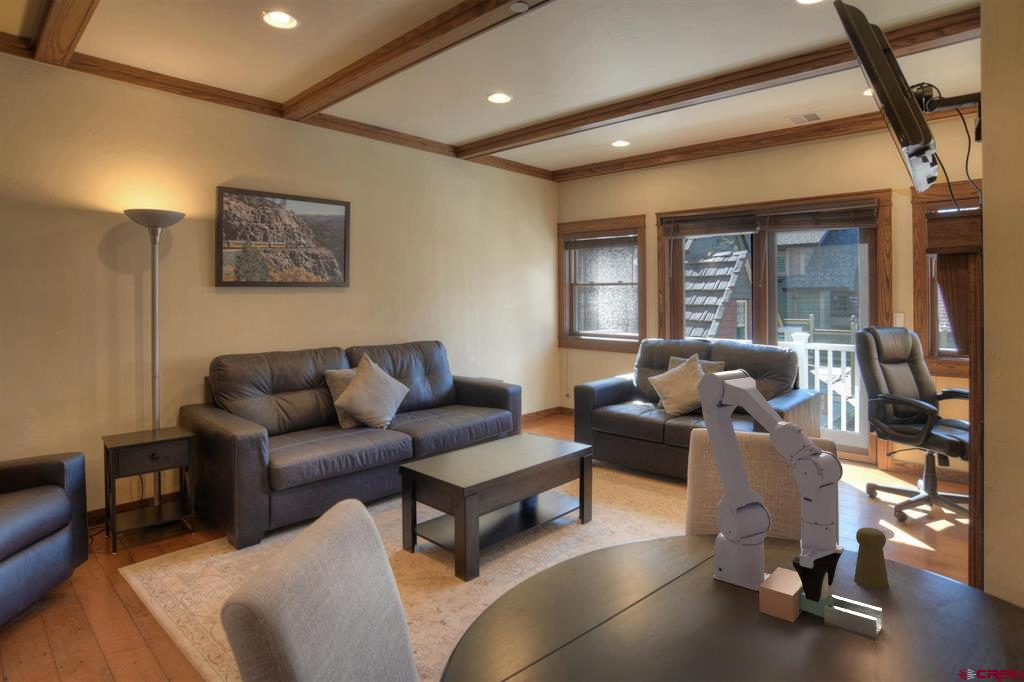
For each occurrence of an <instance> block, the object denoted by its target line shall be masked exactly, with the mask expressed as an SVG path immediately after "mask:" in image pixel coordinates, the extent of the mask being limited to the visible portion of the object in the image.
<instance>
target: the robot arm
mask: <svg viewBox="0 0 1024 682" xmlns="http://www.w3.org/2000/svg"><path fill="white" fill-rule="evenodd" d="M696 388H697V393H698V396H699V400H700V403H701V407H702V408H701V410H702V411H701V412H702V418H703V421H704V424H705V427H706V431H707V435H708V438H709V442H710V447H711V450H712V454H713V457H714V461H715V464H716V468H717V471H718V475H719V476H718V477H719V479H720V483H721V486H722V490H723V495H722V497H721V498H720V499H719V501H718V503H717V505H716V508H717V512H718V518H717V523H718V528H719V530H720V532H719V533H718V534H717V536H716V538H715V540H714V550H713V551H714V552H713V553H714V558H713V559H714V574H713V578H714V579H715V580H718V581H722V582H726V583H729V584H732V585H734V586H738V587H742V588H746V589H747V590H748V589H749V590H752V591H755V592H759V586H760V585H761V584H762V583H763V582H764V581H765V580H766V579H767V578H768V577H769V576H770V575H771V573H766V572H765V540H764V539H765V538H766V539H767V532H769V531H770V530H771V528H772V523H773V519H772V515H771V512H770V511H769V509H768V508H767V507H766V504H765V503H764V499H763V497H762V495H760V494H759V493H757V492H756V491H754V490H753V489H752V488H751V485H750V481H749V478H748V475H747V470H746V467H745V464H744V463H745V462H744V461H743V455H742V452H741V450H740V446H739V445H740V444H739V442H738V439H737V435H736V431H735V429H734V428H735V427H734V425H733V421H732V417H731V416H732V414H733V412H734V410H735V409H736V408H737V407H741V408H743V409H744V410H745V411H746V412H747V413H748V414H749V415H750V416H751V417H753V419H754V420H756V422H757V423H759V424H760V425H761V426H762V427H763V428H764V429H765V430H766V431H767V432H769V442H770V444H771V445H772V446H773V447H774V449H776V450H777V451H778V453H779V454H780V455H781V456H782V457H783V459H784V460H786V461H787V463H788V464H789V465H791V467H792V469H791V471H792V476H793V478H794V480H795V482H796V483H797V486H798V493H799V495H800V536H801V537H800V538H801V539H799V546H800V553H799V557H797V556H795V557H794V558H793V560H792V566H793V568H794V570H795V572H797V573H798V575H799V577H800V579H801V582H802V586H803V590H804V593H805V597H806V599H808V600H812V601H815V602H819V600H820V597H821V592H822V584H823V580H824V577H825V574H826V572H827V573H828V587H829V586H830V587H831V586H832V585H833V582H834V579H835V575H836V570H837V566H838V562H839V561H840V558H841V556H842V554H843V553H844V551H845V548H844V546H843V545H840V544H838V543H837V503H836V502H837V496H836V495H837V491H836V490H837V489H836V488H837V487H836V483H837V482H840V480H841V479H842V477H843V474H844V472H843V470H844V469H843V465H842V463H841V460H840V459H839V458H838V457H837V455H836V454H834V453H833V452H831V451H827V450H823V449H822V448H821V447H819V446H818V445H816V444H815V443H814V442H813V441H812V440H811V439H810V438H809V437H808V436H807V435H806V434H805V433H804V432H803V428H802V427H801V426H800V425H799V424H795V422H790V421H789V422H788V421H784V420H783V418H782V417H781V416H780V415H779V413H778V412H777V411H776V410H775V408H773V406H772V405H771V404H770V403H769V402H768V401H767V399H766V398H765V397H764V395H763V394H762V393H761V392H760V391H759V390H758V389H757V381H756V379H754V378H753V377H751V375H750V374H749V373H748V371H746V370H745V369H743V368H737V369H733V370H726V371H718V372H717V371H716V372H707V373H704V374H703V375H702V377H701V379H700V380H699V382H698V384H697V386H696Z"/></svg>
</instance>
